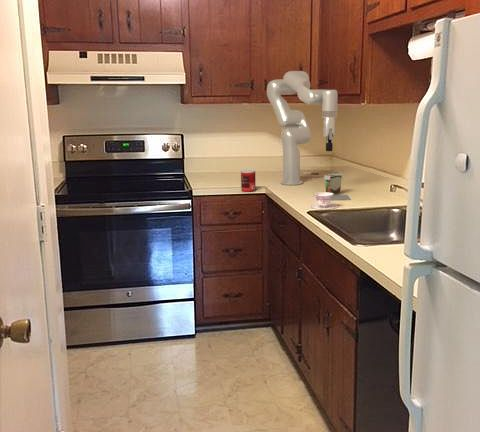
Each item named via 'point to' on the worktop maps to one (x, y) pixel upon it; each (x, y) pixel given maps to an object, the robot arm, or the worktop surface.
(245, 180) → the canned food
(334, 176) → the food container
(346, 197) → the mat
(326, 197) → the teacup
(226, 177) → the worktop surface
